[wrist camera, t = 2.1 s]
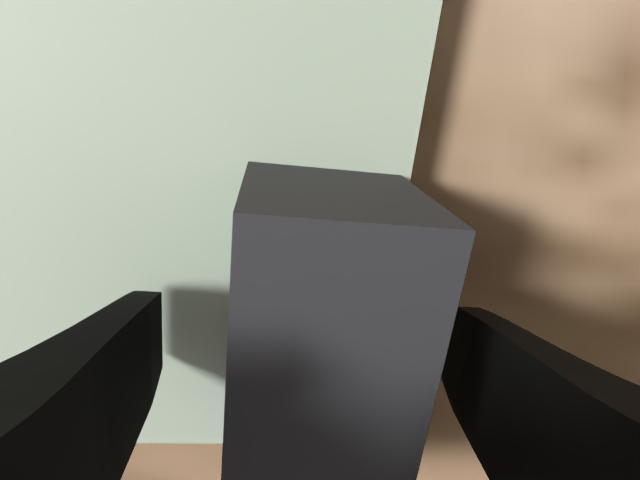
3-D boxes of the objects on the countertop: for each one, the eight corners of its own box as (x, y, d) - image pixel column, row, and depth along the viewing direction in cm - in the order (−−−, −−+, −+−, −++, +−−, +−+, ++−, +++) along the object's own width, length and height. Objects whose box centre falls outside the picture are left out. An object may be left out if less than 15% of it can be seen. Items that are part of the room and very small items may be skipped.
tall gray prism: (354, 444, 13) (388, 595, 9) (233, 443, 12) (215, 602, 9) (400, 174, 10) (476, 231, 6) (248, 161, 10) (232, 212, 6)
